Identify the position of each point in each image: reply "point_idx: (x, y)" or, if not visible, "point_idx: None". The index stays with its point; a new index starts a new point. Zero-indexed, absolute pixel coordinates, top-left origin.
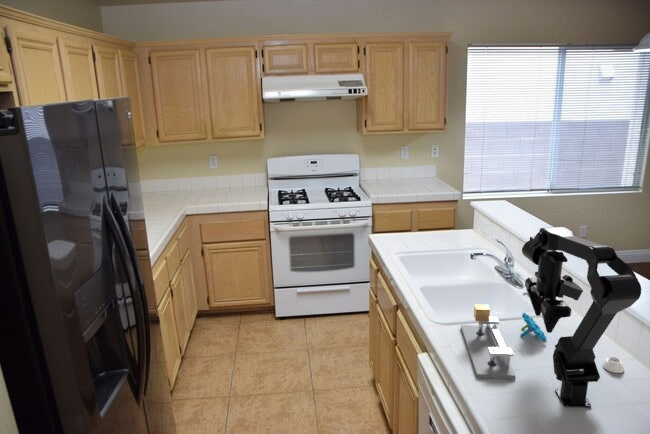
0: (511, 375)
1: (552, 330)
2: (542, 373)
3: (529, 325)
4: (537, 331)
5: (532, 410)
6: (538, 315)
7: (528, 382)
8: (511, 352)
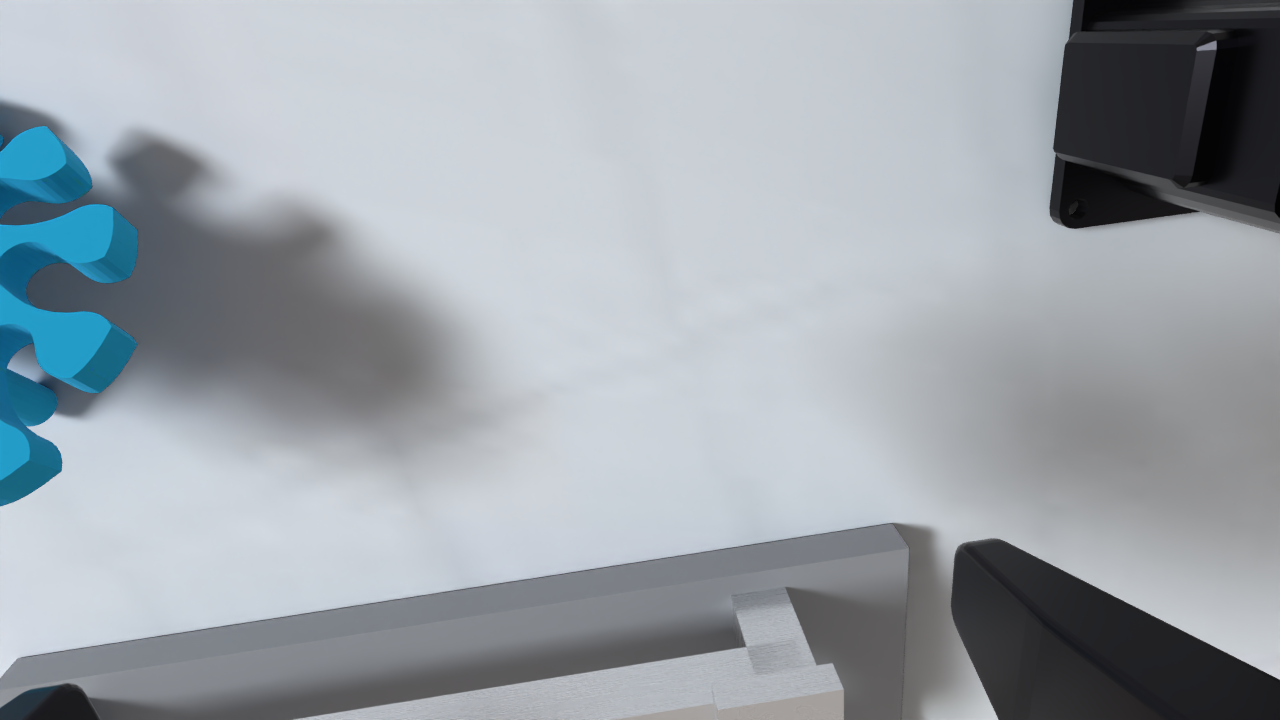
0: (906, 576)
1: (1062, 573)
2: (779, 286)
3: (13, 486)
4: (30, 316)
5: (1274, 442)
6: (90, 717)
7: (930, 428)
8: (815, 703)
